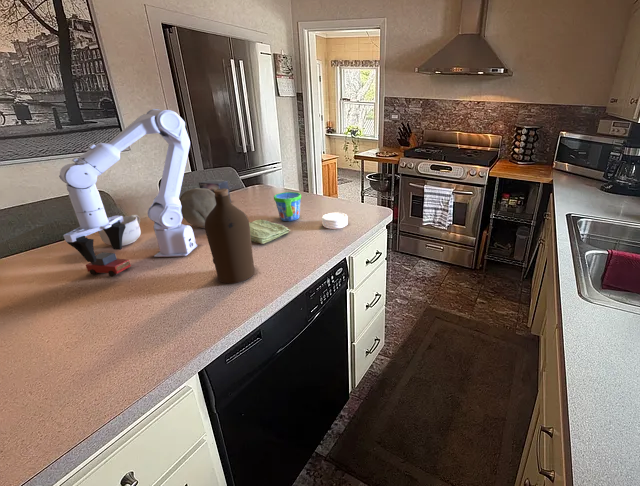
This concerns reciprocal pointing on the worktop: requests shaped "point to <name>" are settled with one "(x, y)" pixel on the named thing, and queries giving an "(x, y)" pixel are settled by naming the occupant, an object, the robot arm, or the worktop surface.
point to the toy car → (107, 264)
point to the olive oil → (229, 240)
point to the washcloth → (266, 231)
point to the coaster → (334, 220)
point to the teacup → (126, 230)
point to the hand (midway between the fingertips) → (105, 255)
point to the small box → (214, 185)
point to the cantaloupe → (197, 205)
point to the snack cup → (288, 205)
